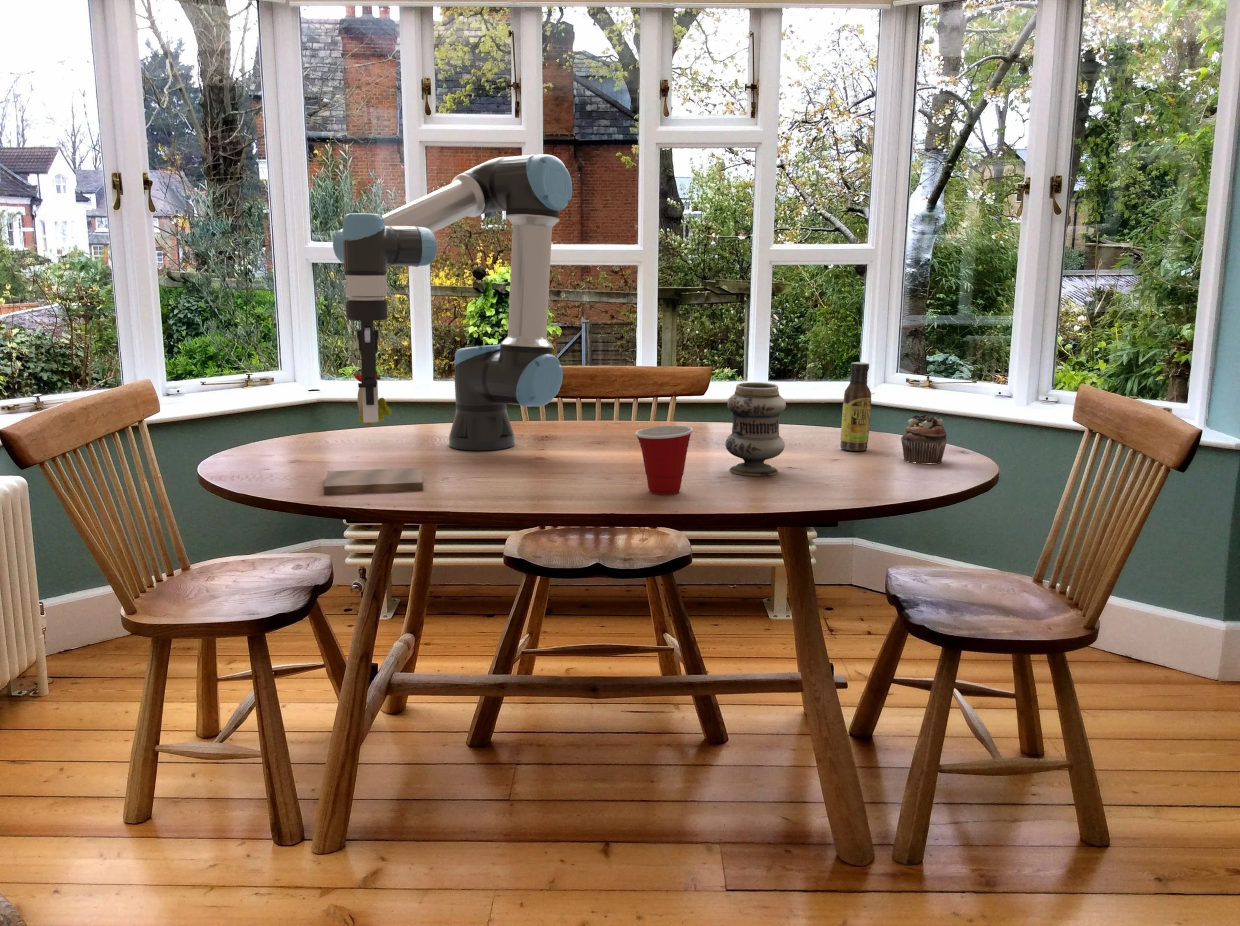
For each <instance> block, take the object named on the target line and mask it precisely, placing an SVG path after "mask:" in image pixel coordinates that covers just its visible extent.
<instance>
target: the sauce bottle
mask: <svg viewBox="0 0 1240 926" xmlns="http://www.w3.org/2000/svg"><path fill="white" fill-rule="evenodd" d="M869 369H870V364H869V362H863V361H856V362H855V361H854V362H851V363H850V379H849V384H848V385H847V387H846V389H845V391H844V393H843V403H842V413H841V414H842V415H841V426H840V427H841V429H840V449H842V450H845V451H852V452H855V451H856V452H863V451H867V449H868V443H869V437H870V436H869V435H870V421H871V409H872V392H871V389H870V388H869V386H868V377H869V375H868V374H869Z"/></svg>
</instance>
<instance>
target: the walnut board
mask: <svg viewBox="0 0 1240 926" xmlns="http://www.w3.org/2000/svg"><path fill="white" fill-rule="evenodd" d="M422 474H423V473H422V469H421V467H405V468H402V467H401V468H378V469H377V468H376V469H355V470H353V469H352V470H349V469H348V470H329V471H327V473H326V476H325V480H324V484H323V495H340V494H341V495H343V494H344V493H345V494H364V493H365V494H366V493H367V494H368V492H369V493H388V492H410V491H411V492H412V491H413V492H414V491H424V481H423V475H422Z"/></svg>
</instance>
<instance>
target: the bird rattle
mask: <svg viewBox="0 0 1240 926" xmlns="http://www.w3.org/2000/svg"><path fill="white" fill-rule="evenodd" d="M377 375H378V373H377V374H376V378H377ZM353 377H354V378H355V380H356V381H358V382H359V383H361V381H362V372H360V371H359V372H358V371H357V372H356V373H354V374H353ZM357 392H358V393H357V403H356V404H357V408H358V410H359V413H358V417H357V418H358V421H359V422H360V423H363V402H362V388H358V391H357ZM392 412H393V411H392V409H391V408H390V406H388V404H387V401H386V399H385V398H383V397H380V398H378V422H383V421H384V419H385V417H386V416H390V415H391V414H392ZM373 423H374V422H367V423H364V425H365V426H371V425H372V424H373Z"/></svg>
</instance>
